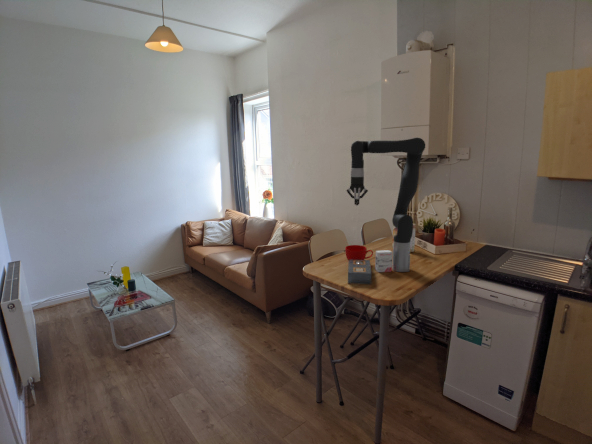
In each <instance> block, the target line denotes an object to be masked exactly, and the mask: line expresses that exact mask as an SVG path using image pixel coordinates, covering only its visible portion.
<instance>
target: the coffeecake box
mask: <svg viewBox="0 0 592 444" xmlns="http://www.w3.org/2000/svg"><path fill="white" fill-rule="evenodd" d="M392 225H393V224H392ZM397 230H398V228H396V227H395V226H394V225H393V226H392V245H391V246H392V248H393V243H394V236H395V235H397ZM415 240H416V223H413V233H412V237H411V240H410V253H412V252H414V251H415V243H416V241H415Z"/></svg>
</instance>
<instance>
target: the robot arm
mask: <svg viewBox="0 0 592 444" xmlns="http://www.w3.org/2000/svg"><path fill="white" fill-rule="evenodd" d="M425 149H426V142H425V140H424V139H423V138H422V137H413V138H408V139H401V140H370V141H369V140H368V141H366V140H365V141H364V140H355V141H353V142H352V143H351V146H350V152H351V153H350V154H351V167H350V168H351V169H350V186H349V187H348V189H346V192H347V194H348V195H349V197H351V199H354V205H355V206H359V205H360V199H363V198H364V196H365V195H366V194H367V193H368V192H369V189H367V188H365V184H364V183H365V181H364V180H365V169H364V168H365V167H364V166H365V165H364V164H365V163H364V162H365V161H364V154H388V153H406V159H405V160H406V161H405V166H404V169H403V172H402V174H401V175H402V176H401V177H400V183H399V190H398V194H397V195H398V196H397V201H396V206H395V207H394V208H395V209H394V212H393V216H392V220H391V221H392V225H394V226H395V227H396V228H398V230H397V235H395V236H394V243H393V247H392V248H393V249H392V252H393V255H392V271H394V272H398V273H399V272H400V273H405V272H406V273H407V272H410V270H411V269H410V268H411V267H410V266H411V255H410V254H411V252H410V240H411V237H412V233H413V224H414V219H413V217H412V216H411V215H409V214H408V210H409V206H410V203H411V202H412V200H413V198H414V196H415V195H416V192H417V191H418V184H419V178H420V175H419V174H420V163H421V159H422V157H423V153H424V151H425ZM351 192H352V193H353V194H352V193H351ZM362 192H363V193H362ZM361 193H362V194H361Z"/></svg>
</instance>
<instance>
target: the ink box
mask: <svg viewBox="0 0 592 444" xmlns="http://www.w3.org/2000/svg"><path fill="white" fill-rule="evenodd" d="M392 265H393V251H391V250H389V249H388V250H387V249H386V250H384V249H383V250H375V267H374V269H375V271H376V272H377V273H387V272H388V273H389V272H390V273H391V272H393V269H392Z"/></svg>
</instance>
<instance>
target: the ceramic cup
mask: <svg viewBox="0 0 592 444" xmlns="http://www.w3.org/2000/svg"><path fill="white" fill-rule="evenodd" d="M369 252H371V254H370V255H369V256H367V253H369ZM344 253H345V257H346V259H347V261H348V262H349V259H352V260H368V259H370V258H371V257H372V256H373V255H374V252H373V250H371V249H367V247H366V246H364V245H360V244H351V245H347V246H345V252H344ZM366 256H367V257H366Z"/></svg>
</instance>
